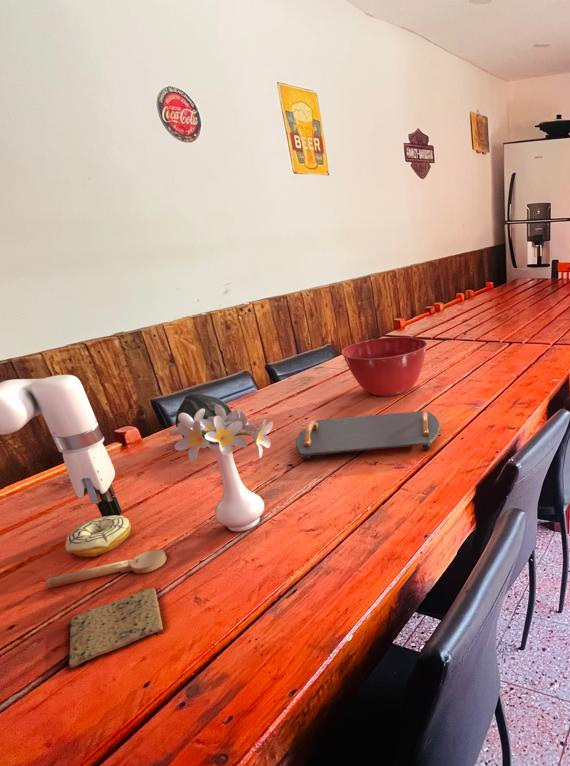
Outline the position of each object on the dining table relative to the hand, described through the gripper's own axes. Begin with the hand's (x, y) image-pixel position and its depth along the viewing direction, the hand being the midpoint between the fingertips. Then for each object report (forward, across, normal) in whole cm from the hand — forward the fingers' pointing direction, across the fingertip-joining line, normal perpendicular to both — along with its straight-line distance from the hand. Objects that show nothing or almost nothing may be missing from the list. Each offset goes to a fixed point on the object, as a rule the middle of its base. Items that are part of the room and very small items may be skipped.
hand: (112, 515), depth 109 cm
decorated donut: (+1, +9, 0) cm, 9 cm away
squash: (+1, -38, +16) cm, 42 cm away
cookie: (+1, +37, +8) cm, 37 cm away
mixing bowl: (+1, -54, +72) cm, 90 cm away
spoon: (+1, +21, +4) cm, 21 cm away
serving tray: (+1, -15, +58) cm, 60 cm away
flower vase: (+1, +14, +27) cm, 30 cm away
